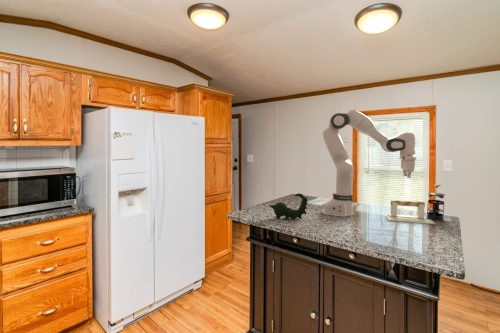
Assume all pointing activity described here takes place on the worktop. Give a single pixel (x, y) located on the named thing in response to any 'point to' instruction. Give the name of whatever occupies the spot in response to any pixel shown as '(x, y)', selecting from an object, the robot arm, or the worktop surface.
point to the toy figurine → (283, 210)
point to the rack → (419, 215)
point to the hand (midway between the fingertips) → (406, 176)
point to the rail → (407, 203)
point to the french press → (435, 207)
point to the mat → (410, 220)
